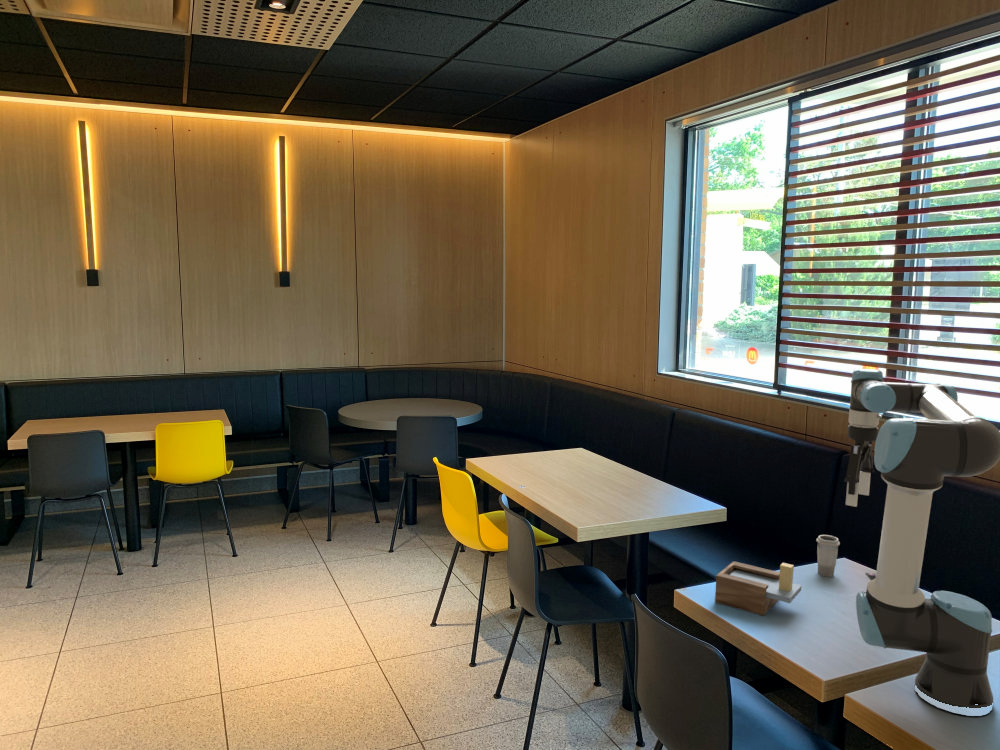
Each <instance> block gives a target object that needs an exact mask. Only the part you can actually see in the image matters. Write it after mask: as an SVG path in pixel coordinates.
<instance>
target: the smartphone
mask: <svg viewBox="0 0 1000 750" xmlns="http://www.w3.org/2000/svg"><path fill="white" fill-rule="evenodd" d="M865 576H867V577H868V579H870V581H871V580H873V579H875V578H876V573H875V572H874V573H873V572H872V573H870V572H865Z"/></svg>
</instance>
